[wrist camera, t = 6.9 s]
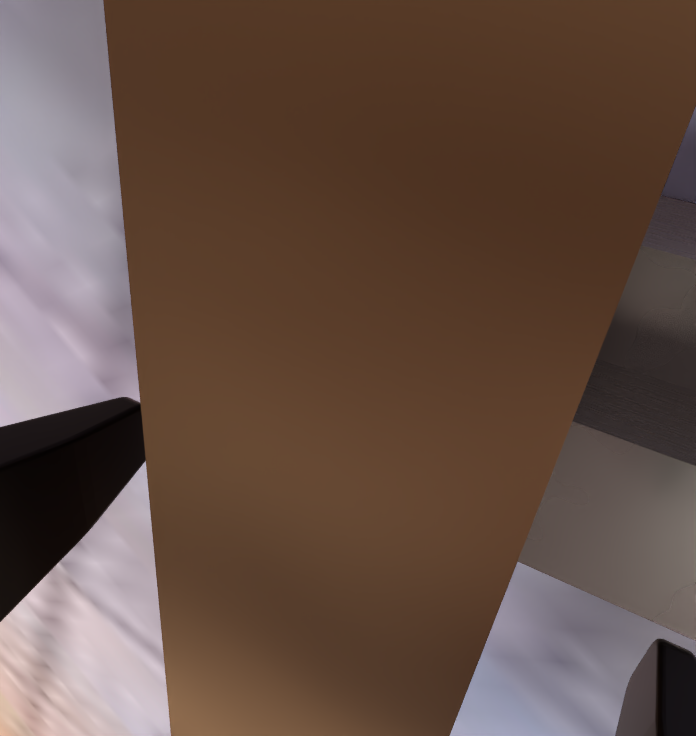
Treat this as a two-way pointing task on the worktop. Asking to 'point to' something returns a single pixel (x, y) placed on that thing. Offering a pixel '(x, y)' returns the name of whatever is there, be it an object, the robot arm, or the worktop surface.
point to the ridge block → (634, 445)
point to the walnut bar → (370, 321)
